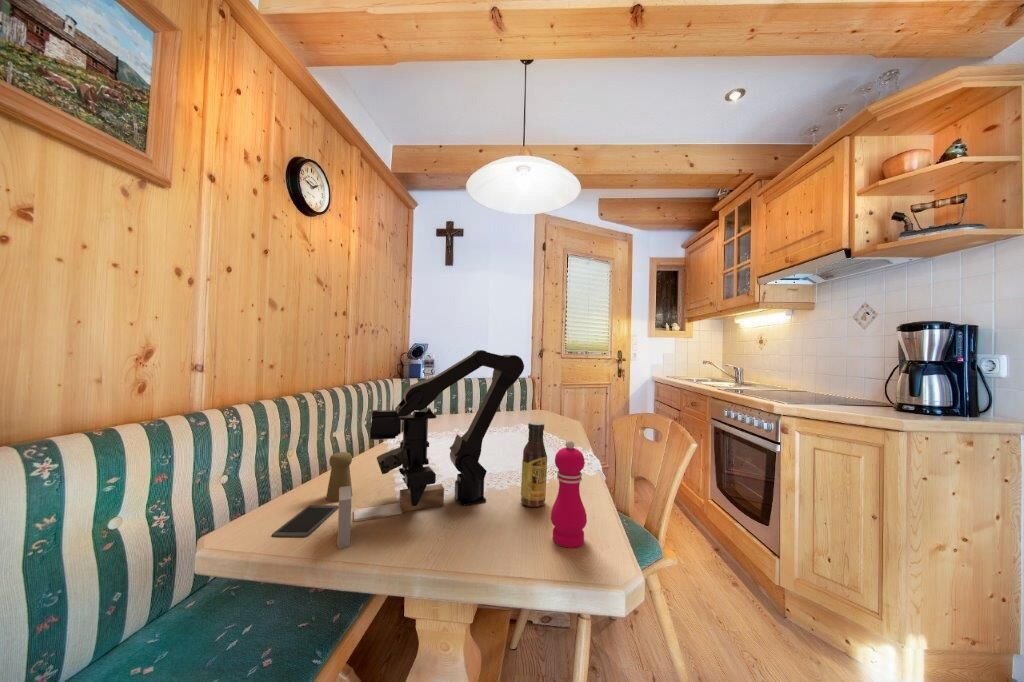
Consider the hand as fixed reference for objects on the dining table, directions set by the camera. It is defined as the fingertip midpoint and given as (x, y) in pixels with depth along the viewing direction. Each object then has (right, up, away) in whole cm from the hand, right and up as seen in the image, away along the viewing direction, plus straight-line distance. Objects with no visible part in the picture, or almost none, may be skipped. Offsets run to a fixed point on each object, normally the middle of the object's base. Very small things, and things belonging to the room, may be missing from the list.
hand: (413, 502), depth 84 cm
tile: (-10, 0, -15) cm, 18 cm away
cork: (-20, -1, +5) cm, 21 cm away
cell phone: (-21, -1, -8) cm, 22 cm away
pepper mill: (+35, -2, -13) cm, 38 cm away
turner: (-3, -1, -1) cm, 3 cm away
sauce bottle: (+29, -2, +4) cm, 29 cm away
